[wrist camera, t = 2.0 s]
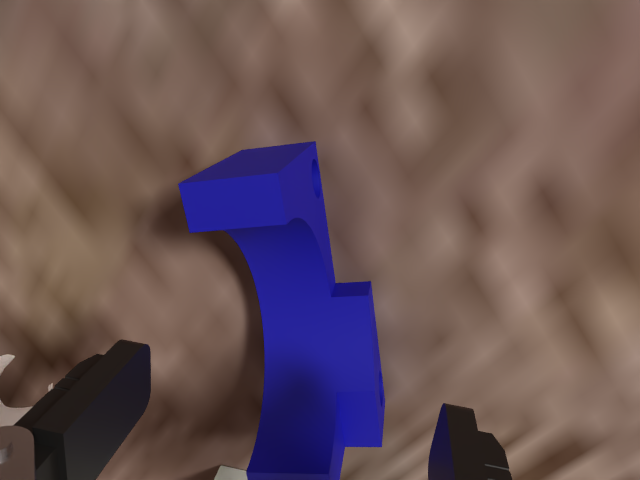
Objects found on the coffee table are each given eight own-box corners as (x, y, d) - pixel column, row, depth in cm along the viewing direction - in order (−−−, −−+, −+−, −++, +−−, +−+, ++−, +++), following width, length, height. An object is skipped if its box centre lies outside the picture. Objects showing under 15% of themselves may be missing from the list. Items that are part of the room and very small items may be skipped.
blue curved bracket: (385, 399, 23) (377, 509, 17) (290, 400, 24) (253, 505, 18) (354, 136, 19) (331, 167, 13) (243, 149, 20) (178, 183, 14)
